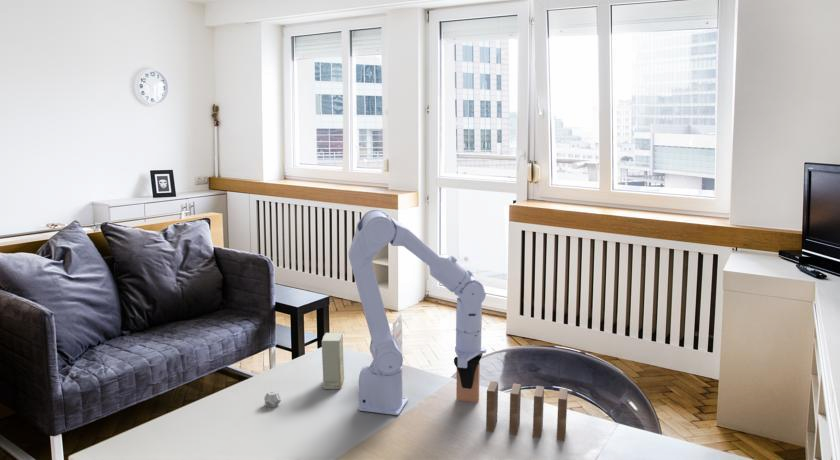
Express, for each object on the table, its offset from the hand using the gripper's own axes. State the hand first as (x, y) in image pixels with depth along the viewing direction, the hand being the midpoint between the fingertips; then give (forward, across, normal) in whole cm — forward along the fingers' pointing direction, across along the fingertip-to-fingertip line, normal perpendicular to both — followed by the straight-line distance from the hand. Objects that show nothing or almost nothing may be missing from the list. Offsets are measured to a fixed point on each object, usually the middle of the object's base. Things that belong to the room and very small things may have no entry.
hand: (467, 385), depth 152 cm
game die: (+4, -14, +42) cm, 44 cm away
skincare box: (+4, 0, +33) cm, 33 cm away
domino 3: (+3, -11, -17) cm, 20 cm away
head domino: (+3, 0, 0) cm, 3 cm away
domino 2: (+3, -11, -12) cm, 17 cm away
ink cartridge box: (+4, +10, +22) cm, 24 cm away
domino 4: (+3, -11, -22) cm, 25 cm away
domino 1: (+3, -11, -7) cm, 14 cm away
